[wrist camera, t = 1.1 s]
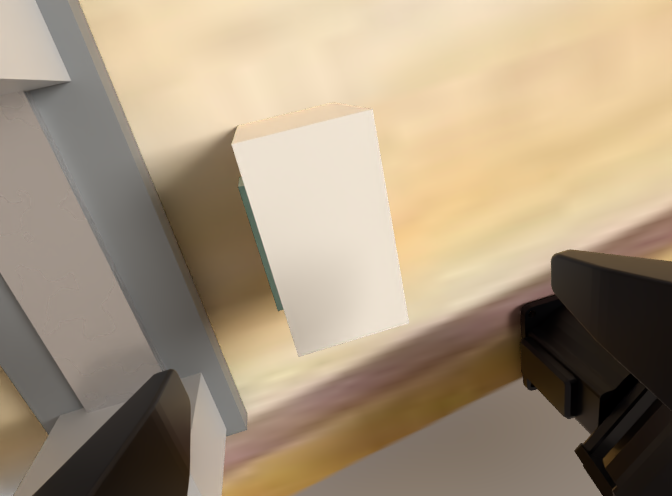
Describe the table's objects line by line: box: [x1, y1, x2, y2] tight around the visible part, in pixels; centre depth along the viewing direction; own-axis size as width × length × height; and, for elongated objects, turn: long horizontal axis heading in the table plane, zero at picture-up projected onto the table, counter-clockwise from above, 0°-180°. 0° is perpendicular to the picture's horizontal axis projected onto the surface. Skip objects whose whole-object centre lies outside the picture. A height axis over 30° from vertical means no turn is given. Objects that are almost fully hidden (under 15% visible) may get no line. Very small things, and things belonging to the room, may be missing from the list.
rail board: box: [0, 0, 247, 496], centre depth 16 cm, size 9×23×7 cm, turn 13°
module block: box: [231, 102, 409, 357], centre depth 17 cm, size 5×8×6 cm, turn 13°
